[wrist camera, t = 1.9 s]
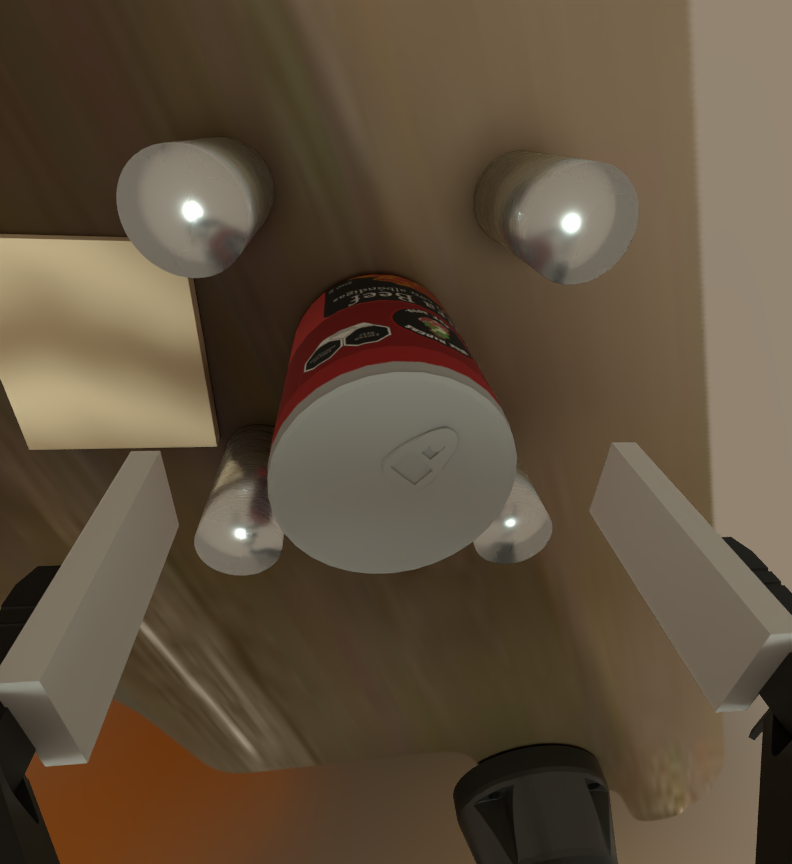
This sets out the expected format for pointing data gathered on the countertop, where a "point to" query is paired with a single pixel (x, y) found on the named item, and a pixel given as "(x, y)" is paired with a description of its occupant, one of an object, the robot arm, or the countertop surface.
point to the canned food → (386, 433)
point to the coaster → (101, 346)
